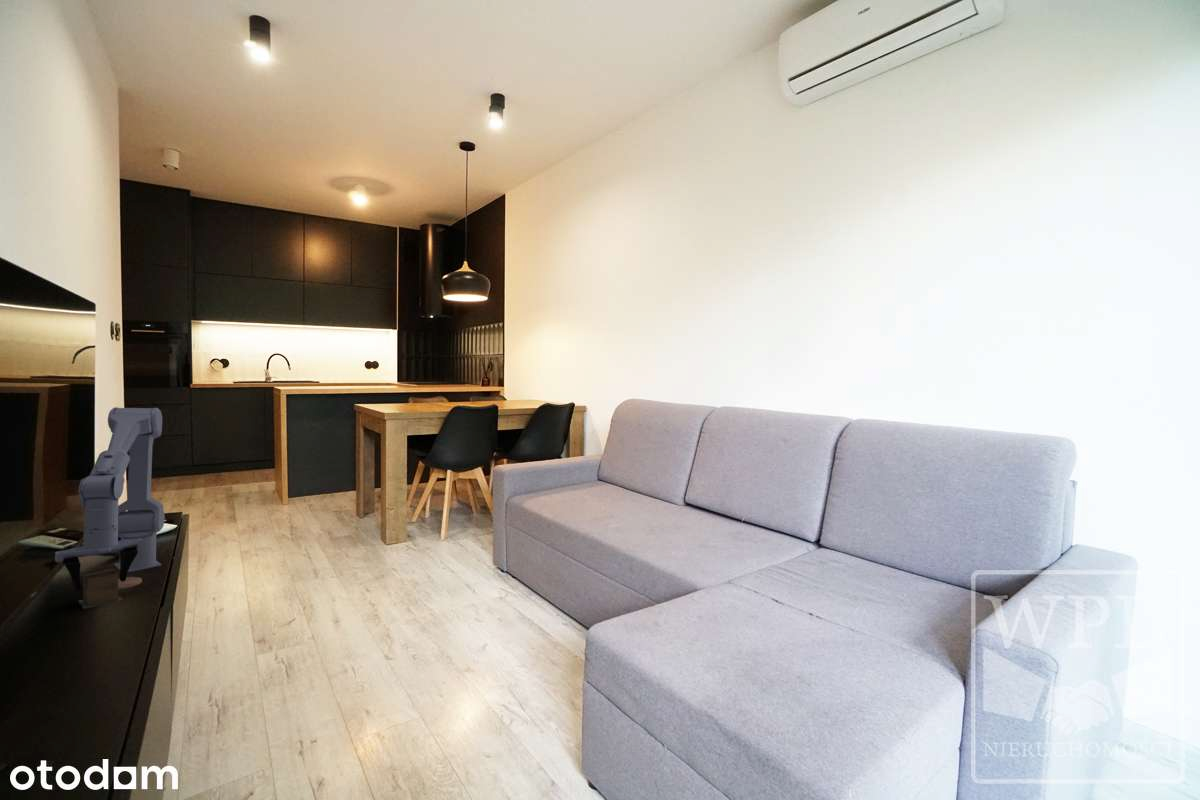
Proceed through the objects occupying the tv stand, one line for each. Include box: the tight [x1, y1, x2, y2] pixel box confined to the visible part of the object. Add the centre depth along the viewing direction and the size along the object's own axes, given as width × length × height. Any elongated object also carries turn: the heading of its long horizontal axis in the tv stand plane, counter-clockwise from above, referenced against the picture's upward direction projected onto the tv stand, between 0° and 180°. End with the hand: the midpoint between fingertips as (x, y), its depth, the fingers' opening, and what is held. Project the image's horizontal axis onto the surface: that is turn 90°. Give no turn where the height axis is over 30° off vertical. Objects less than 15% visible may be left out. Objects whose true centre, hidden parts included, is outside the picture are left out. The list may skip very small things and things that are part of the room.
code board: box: [78, 594, 123, 610], centre depth 120 cm, size 8×8×1 cm
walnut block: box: [82, 568, 119, 606], centre depth 120 cm, size 5×5×6 cm
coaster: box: [118, 576, 143, 591], centre depth 129 cm, size 8×8×1 cm
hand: (100, 584), depth 120 cm, fingers open, 7 cm apart
